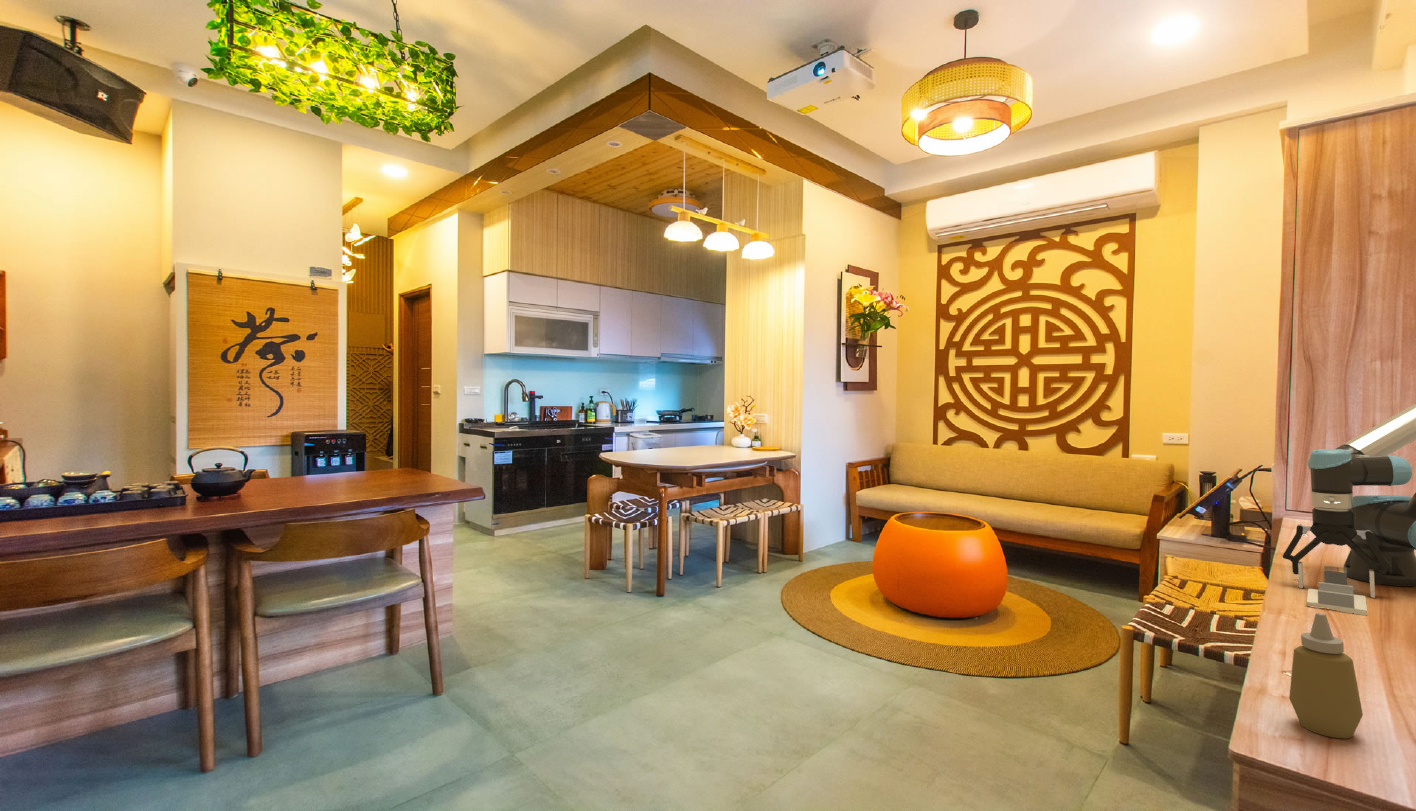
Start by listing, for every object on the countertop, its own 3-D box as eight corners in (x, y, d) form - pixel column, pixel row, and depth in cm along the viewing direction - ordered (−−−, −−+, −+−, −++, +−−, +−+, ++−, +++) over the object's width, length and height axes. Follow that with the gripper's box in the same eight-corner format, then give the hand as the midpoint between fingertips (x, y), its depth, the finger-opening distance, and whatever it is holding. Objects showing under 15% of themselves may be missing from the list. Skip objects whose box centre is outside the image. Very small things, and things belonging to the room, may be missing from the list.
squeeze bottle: (1380, 743, 91) (1374, 622, 91) (1325, 744, 91) (1320, 624, 91) (1326, 715, 99) (1321, 605, 99) (1276, 717, 99) (1271, 607, 99)
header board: (1308, 592, 158) (1308, 576, 158) (1365, 600, 151) (1364, 583, 151) (1306, 606, 148) (1306, 589, 148) (1367, 615, 141) (1366, 597, 141)
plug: (1325, 588, 161) (1324, 565, 161) (1347, 591, 158) (1346, 567, 158) (1325, 593, 157) (1324, 570, 157) (1347, 596, 154) (1346, 572, 154)
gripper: (1267, 506, 164) (1271, 585, 164) (1404, 515, 146) (1408, 604, 146) (1269, 502, 169) (1273, 579, 169) (1402, 511, 152) (1406, 597, 152)
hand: (1335, 591), depth 158 cm, fingers open, 12 cm apart
